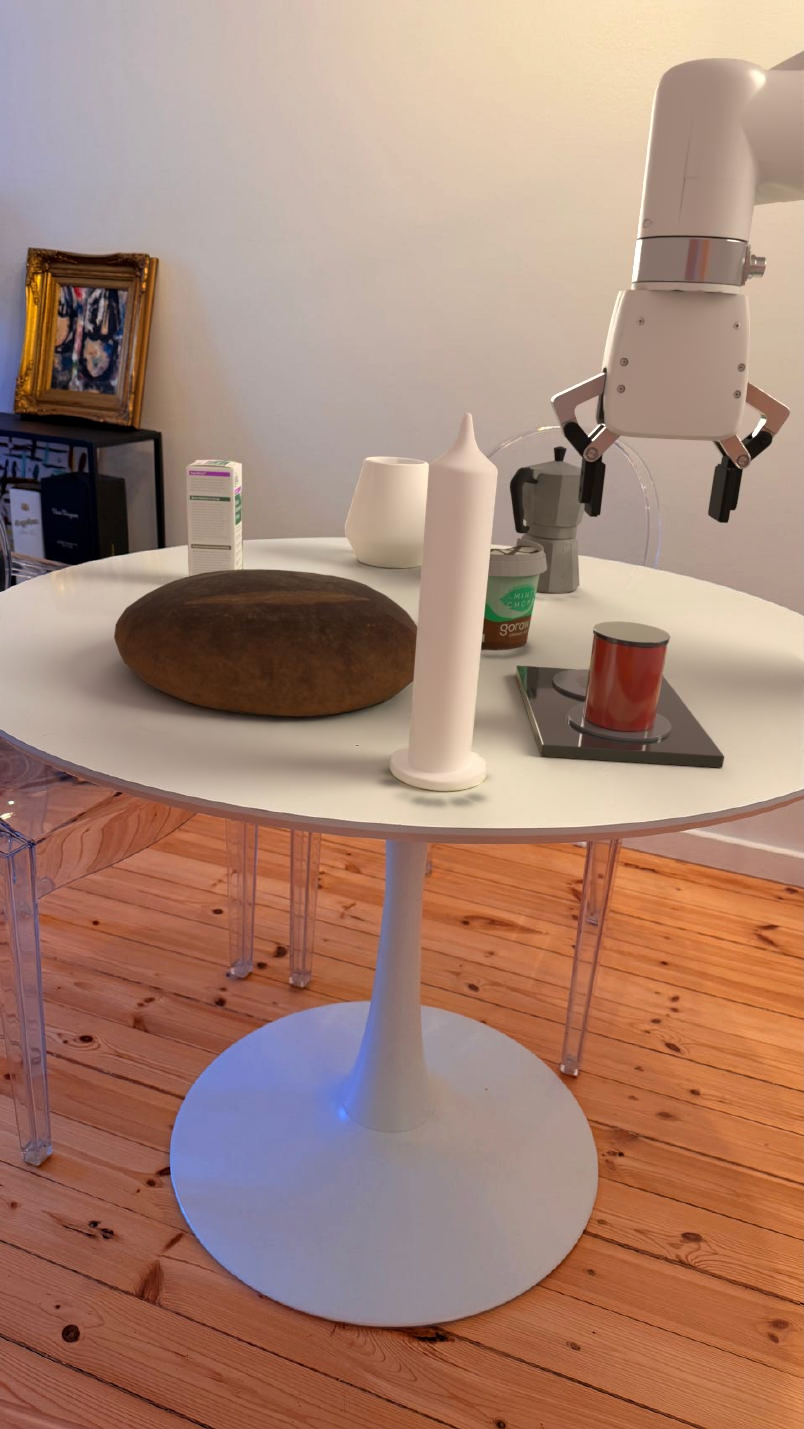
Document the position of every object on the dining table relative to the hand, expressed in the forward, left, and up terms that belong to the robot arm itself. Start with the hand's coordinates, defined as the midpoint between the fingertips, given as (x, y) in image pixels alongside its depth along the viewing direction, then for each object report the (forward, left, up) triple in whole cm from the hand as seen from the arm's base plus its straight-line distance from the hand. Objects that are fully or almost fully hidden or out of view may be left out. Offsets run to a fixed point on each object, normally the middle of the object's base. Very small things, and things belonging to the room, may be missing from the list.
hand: (654, 516), depth 75 cm
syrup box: (+41, -43, -18) cm, 62 cm away
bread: (+30, -11, -18) cm, 37 cm away
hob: (0, -4, -18) cm, 18 cm away
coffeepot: (0, -53, -18) cm, 56 cm away
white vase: (+20, -63, -18) cm, 68 cm away
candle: (+15, +10, -18) cm, 26 cm away
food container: (+7, -25, -18) cm, 31 cm away
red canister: (+1, 0, -17) cm, 16 cm away
